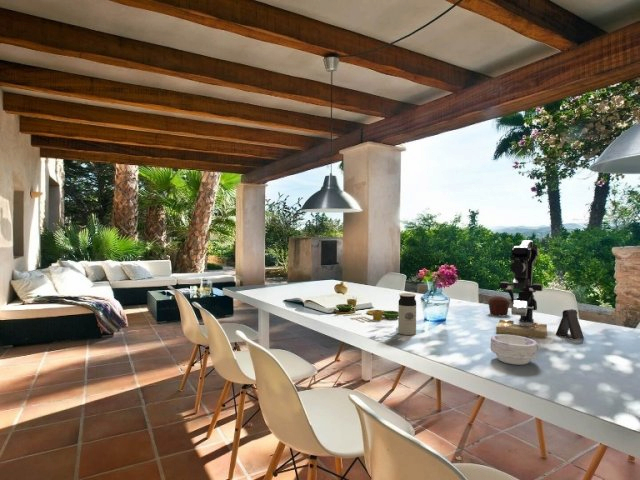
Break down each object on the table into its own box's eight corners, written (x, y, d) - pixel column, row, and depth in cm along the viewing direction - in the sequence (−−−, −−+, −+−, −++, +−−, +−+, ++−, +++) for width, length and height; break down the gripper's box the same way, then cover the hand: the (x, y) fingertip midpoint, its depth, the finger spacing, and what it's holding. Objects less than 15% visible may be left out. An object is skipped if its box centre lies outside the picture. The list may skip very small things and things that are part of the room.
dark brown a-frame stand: (555, 335, 185) (555, 308, 185) (563, 333, 188) (564, 307, 187) (575, 339, 177) (575, 312, 177) (583, 338, 180) (584, 311, 179)
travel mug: (398, 330, 192) (398, 292, 192) (415, 331, 191) (416, 293, 190) (398, 334, 184) (398, 295, 184) (416, 335, 183) (416, 295, 182)
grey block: (514, 305, 204) (513, 298, 202) (527, 306, 200) (527, 299, 199) (511, 316, 196) (511, 309, 195) (525, 317, 193) (525, 310, 191)
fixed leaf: (500, 326, 201) (500, 318, 200) (546, 332, 190) (546, 323, 190) (496, 332, 189) (496, 324, 188) (545, 338, 178) (545, 329, 178)
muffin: (512, 314, 233) (512, 296, 232) (506, 317, 224) (506, 298, 224) (491, 311, 240) (491, 294, 240) (484, 314, 232) (484, 296, 232)
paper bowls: (547, 365, 143) (547, 343, 142) (511, 369, 138) (511, 346, 138) (514, 353, 157) (515, 332, 157) (481, 356, 153) (481, 335, 153)
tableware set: (325, 310, 245) (325, 299, 245) (365, 306, 257) (365, 296, 257) (362, 324, 208) (362, 312, 208) (406, 319, 220) (406, 307, 220)
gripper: (497, 272, 198) (497, 304, 198) (541, 274, 188) (540, 308, 188) (501, 270, 207) (500, 301, 207) (542, 272, 197) (542, 304, 197)
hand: (520, 303), depth 200 cm, fingers closed on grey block, 6 cm apart
